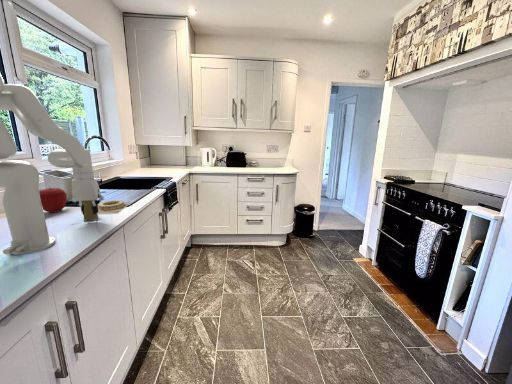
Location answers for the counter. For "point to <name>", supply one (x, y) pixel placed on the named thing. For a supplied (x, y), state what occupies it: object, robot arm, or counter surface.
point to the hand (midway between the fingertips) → (90, 213)
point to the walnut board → (113, 210)
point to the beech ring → (110, 204)
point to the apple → (53, 199)
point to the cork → (89, 212)
